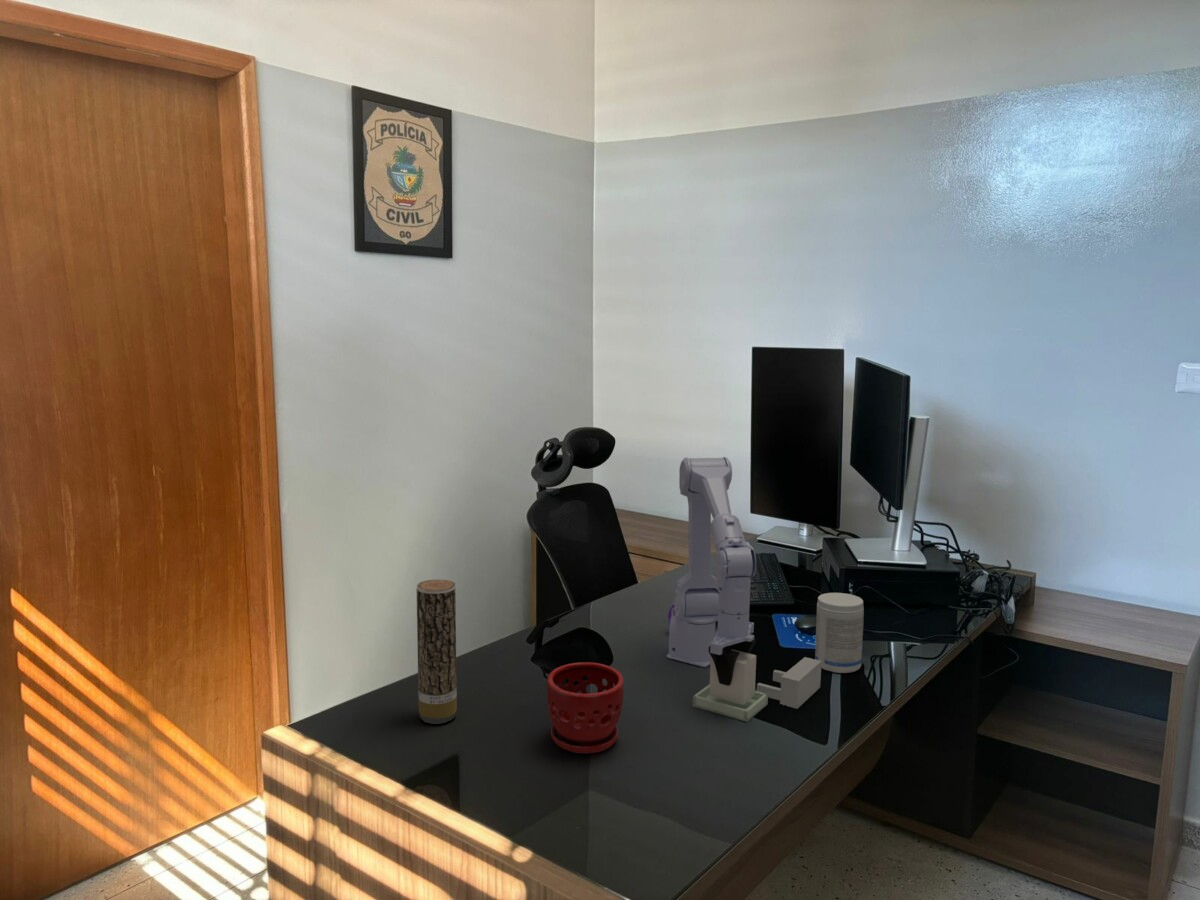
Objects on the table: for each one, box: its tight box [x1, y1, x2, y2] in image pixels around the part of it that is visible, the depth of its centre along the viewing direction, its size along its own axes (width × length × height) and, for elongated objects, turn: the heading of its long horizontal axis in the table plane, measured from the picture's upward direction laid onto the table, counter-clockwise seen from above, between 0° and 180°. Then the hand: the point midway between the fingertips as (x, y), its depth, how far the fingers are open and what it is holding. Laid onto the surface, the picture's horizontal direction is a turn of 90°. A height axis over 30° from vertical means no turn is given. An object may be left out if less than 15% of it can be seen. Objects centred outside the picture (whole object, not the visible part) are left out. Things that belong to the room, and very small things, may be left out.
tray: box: [692, 683, 769, 723], centre depth 167 cm, size 11×9×2 cm
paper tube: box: [416, 579, 458, 719], centre depth 158 cm, size 7×7×25 cm
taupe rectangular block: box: [709, 649, 757, 705], centre depth 166 cm, size 8×5×8 cm, turn 56°
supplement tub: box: [814, 592, 865, 674], centre depth 186 cm, size 10×10×15 cm
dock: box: [756, 656, 822, 710], centre depth 173 cm, size 9×12×6 cm
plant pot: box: [546, 661, 625, 754], centre depth 151 cm, size 13×13×12 cm
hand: (731, 679), depth 166 cm, fingers closed on taupe rectangular block, 5 cm apart
